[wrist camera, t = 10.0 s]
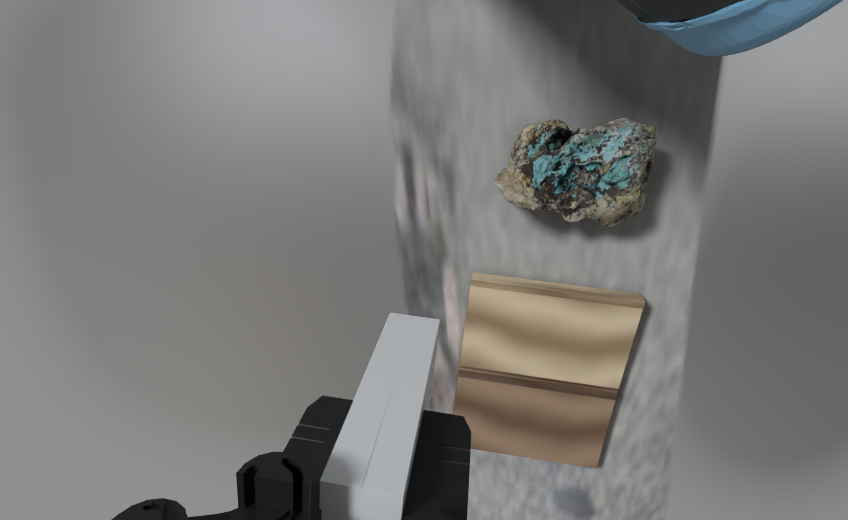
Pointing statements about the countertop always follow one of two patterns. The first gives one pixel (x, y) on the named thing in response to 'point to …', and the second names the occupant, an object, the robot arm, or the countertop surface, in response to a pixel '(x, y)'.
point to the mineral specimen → (581, 170)
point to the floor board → (534, 415)
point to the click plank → (549, 329)
